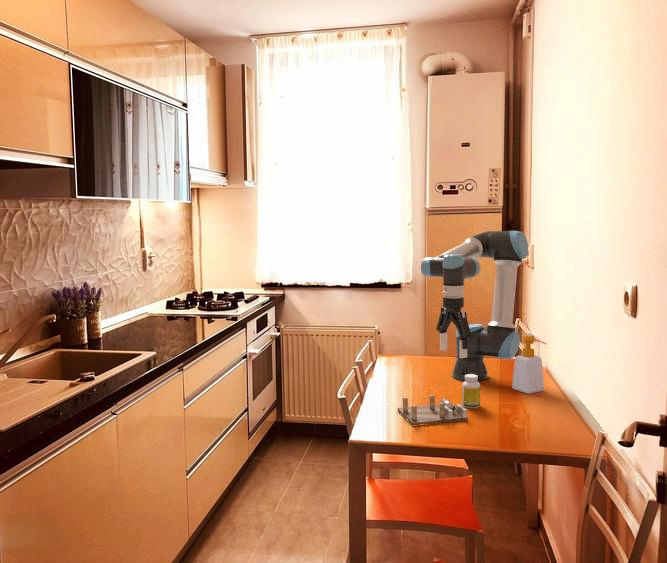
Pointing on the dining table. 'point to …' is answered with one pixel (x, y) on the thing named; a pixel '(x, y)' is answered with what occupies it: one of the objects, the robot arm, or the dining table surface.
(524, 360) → the soap bottle
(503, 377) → the dining table surface
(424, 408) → the board
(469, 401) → the pill bottle
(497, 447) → the dining table surface
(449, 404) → the pin
